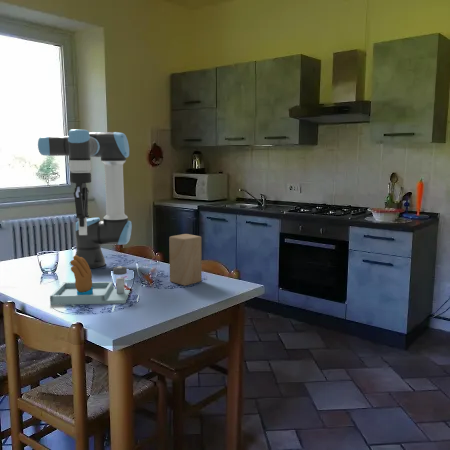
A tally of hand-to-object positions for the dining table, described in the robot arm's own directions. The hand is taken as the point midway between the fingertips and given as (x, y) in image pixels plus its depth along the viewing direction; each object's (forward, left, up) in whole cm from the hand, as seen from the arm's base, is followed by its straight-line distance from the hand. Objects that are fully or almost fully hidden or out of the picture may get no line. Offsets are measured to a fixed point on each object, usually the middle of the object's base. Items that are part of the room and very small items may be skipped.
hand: (83, 234), depth 171 cm
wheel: (0, +13, -15) cm, 20 cm away
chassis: (0, +3, -24) cm, 24 cm away
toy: (0, -1, -23) cm, 23 cm away
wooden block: (-19, +38, -25) cm, 49 cm away
